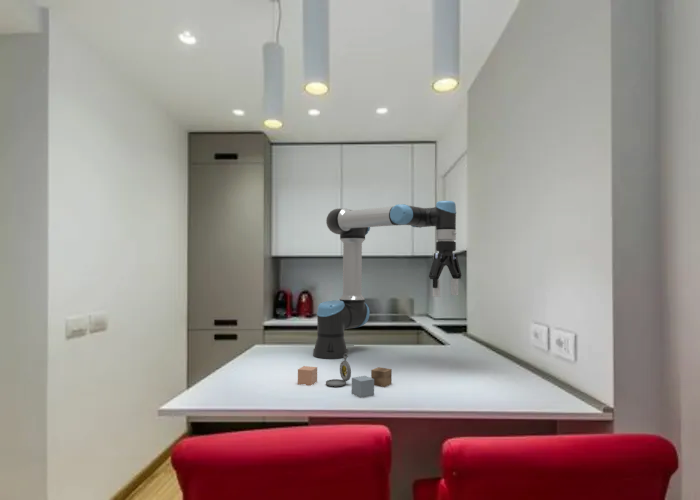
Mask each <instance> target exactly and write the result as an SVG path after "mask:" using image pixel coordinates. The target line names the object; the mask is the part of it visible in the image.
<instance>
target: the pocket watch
mask: <svg viewBox="0 0 700 500" xmlns="http://www.w3.org/2000/svg"><path fill="white" fill-rule="evenodd" d="M345 354H346V353H345ZM345 354H344V355H345ZM348 355H349V354H348ZM348 355H347V356H344V357H343V360H342V361H341V362H340V365H339V374H340V377H341V379H335V378H333V379H328V380H326V381H325V384H326V385H327V386H329V387H333V386H334V388H337V387H343V386H345V385H346V384H347V382H348V381H349V380H350V379H351V378H352V369H351V364H350V363H349V362H348V361H347V358H348Z"/></svg>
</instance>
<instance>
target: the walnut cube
mask: <svg viewBox="0 0 700 500" xmlns="http://www.w3.org/2000/svg"><path fill="white" fill-rule="evenodd" d="M370 372H371V375H370V378H372V379H374V387H380V388H381V387H382V388H386V387H388V386H390V385H392V379H393V378H392V374H393V373H392V368H386V367H380V366H379V367H378V366H377V367H376V368H374V369H371V370H370Z"/></svg>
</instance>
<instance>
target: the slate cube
mask: <svg viewBox="0 0 700 500" xmlns="http://www.w3.org/2000/svg"><path fill="white" fill-rule="evenodd" d="M353 394H354V396H356V397H358V398H360V399H361V398H367V397H373V396H375V386H374V379H372V378H371V376H370V377H369V376H367V375H361V376H359V375H358V376H353V377H351V395H353Z"/></svg>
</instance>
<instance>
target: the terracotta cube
mask: <svg viewBox="0 0 700 500" xmlns="http://www.w3.org/2000/svg"><path fill="white" fill-rule="evenodd" d="M315 382H316V383H318V366H317V367H316V366H307V365H306V366H305V365H303V366H301V367H299V368H297V385H301V384H306V385H305V386H311V385H312V384H313V385H315V384H316V383H315ZM314 383H315V384H314ZM313 385H312V386H313Z"/></svg>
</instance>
